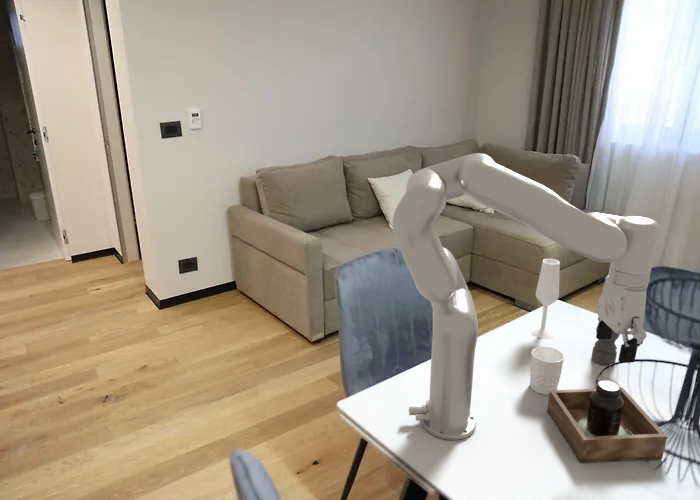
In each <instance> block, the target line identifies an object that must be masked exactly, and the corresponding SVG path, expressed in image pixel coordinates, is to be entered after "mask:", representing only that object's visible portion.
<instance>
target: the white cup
mask: <svg viewBox="0 0 700 500" xmlns="http://www.w3.org/2000/svg"><path fill="white" fill-rule="evenodd" d="M530 354H531V356H530V370H529V371H530V372H529V373H530V380H529V381H530V382H529V386H530V387H529V388H531V390H532V391H534V392H535V393H537V394H539V395H540V394H541V395H544V396H545V395H546V396H549V393H550V390H558V387H559V383H560V379H561V374H562V372H563V371H562V370H563V366H564V365H563V364H564V361H565V355H564V354H563V352H562V351H561V350H558V349H557V348H554V347H549V346H536V347H535V348H533V349H532V350H531V353H530Z"/></svg>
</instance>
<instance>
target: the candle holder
mask: <svg viewBox="0 0 700 500" xmlns="http://www.w3.org/2000/svg"><path fill="white" fill-rule="evenodd" d="M607 277H608V275H607V276H605V278H604V283H603V285H604V284H605V281H606V279H607ZM597 329H598V325H597V327H596V328H595V333H596V334H597ZM620 335H621V334H617V333H615V332H614V331H613V330H612V335H611V339H597V340H596V341H595V342H594V346H592V347H593V348H592V351H591V352H592V353H591V358H590V359H591V361H592V362H593V363H595V364H597V365H598V366H601V367H610V366H609V365H610V364H614V363H615V364H616V359H617V356H618V355H617V354H618V352H617V345H616V344H615V342H616V340H619V337H620ZM615 364H614V365H615Z"/></svg>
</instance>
